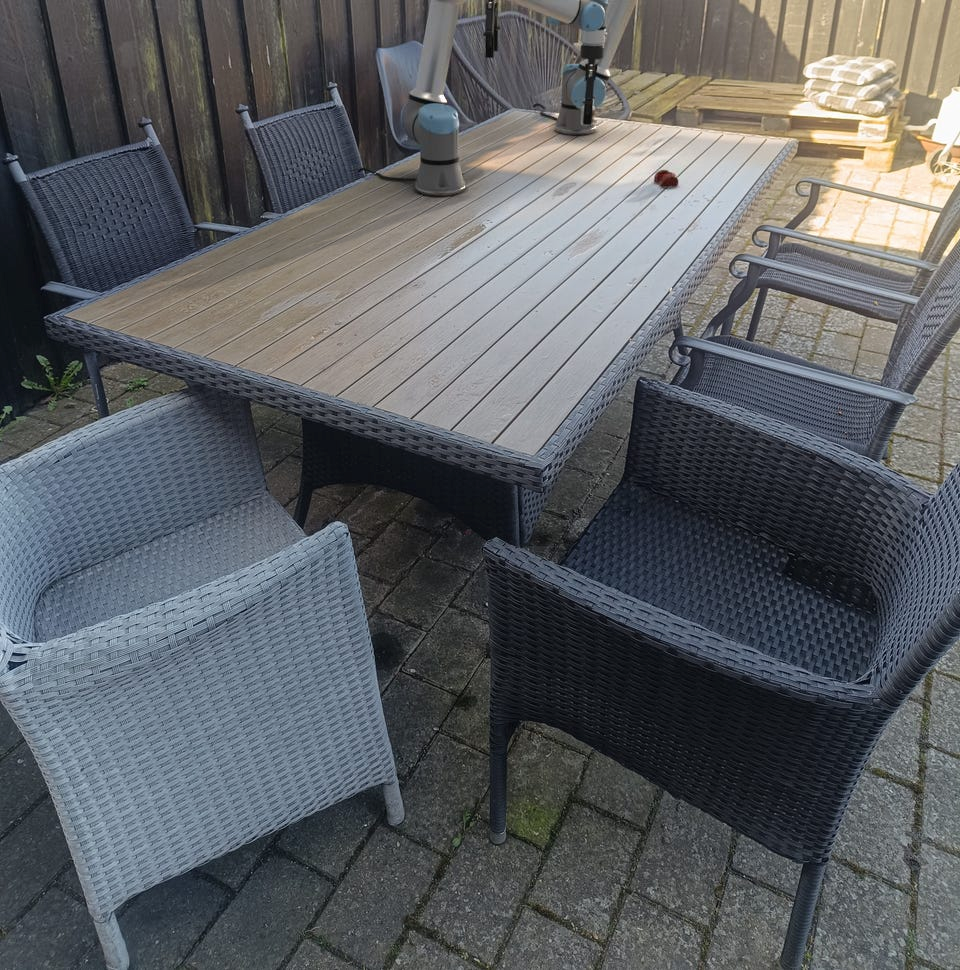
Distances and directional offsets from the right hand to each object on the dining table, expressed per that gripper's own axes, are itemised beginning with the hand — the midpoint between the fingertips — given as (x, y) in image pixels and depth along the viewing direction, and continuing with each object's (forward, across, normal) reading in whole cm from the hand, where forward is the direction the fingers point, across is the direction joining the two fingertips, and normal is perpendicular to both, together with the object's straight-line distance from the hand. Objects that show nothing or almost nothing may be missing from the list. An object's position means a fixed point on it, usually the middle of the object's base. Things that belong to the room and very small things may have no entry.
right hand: (491, 54), depth 289 cm
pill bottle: (+17, -20, -34) cm, 43 cm away
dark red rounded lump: (+29, -46, -60) cm, 81 cm away
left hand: (+17, -20, -34) cm, 43 cm away
